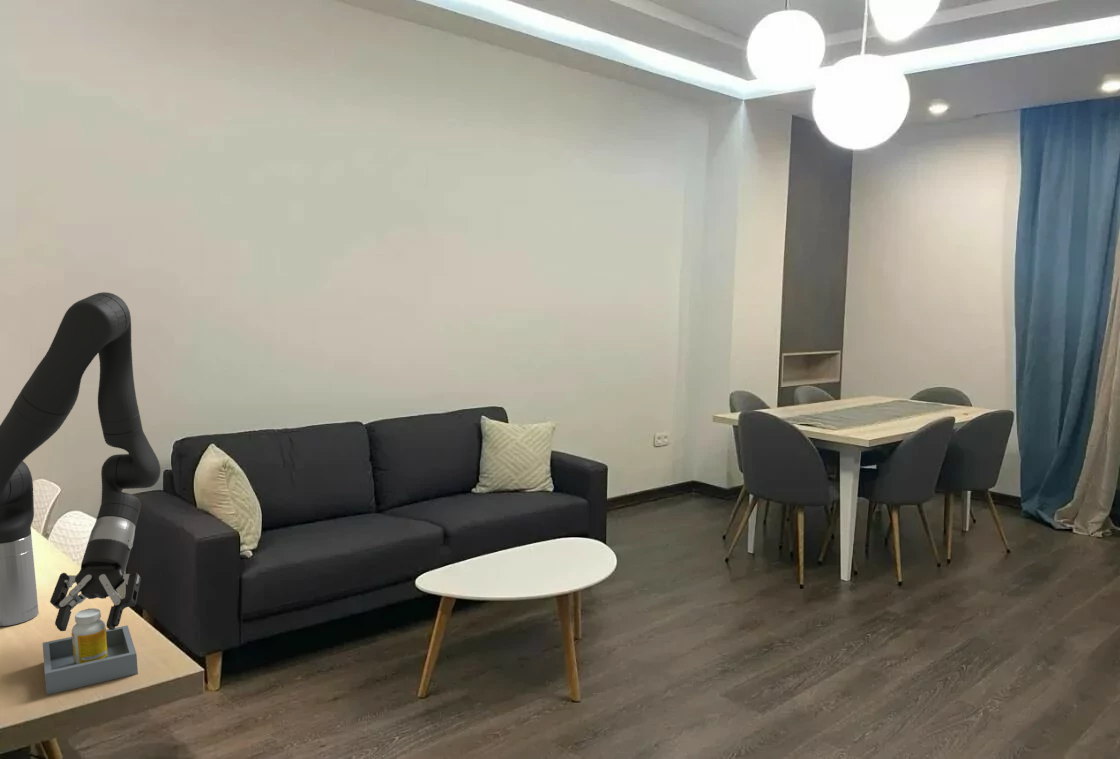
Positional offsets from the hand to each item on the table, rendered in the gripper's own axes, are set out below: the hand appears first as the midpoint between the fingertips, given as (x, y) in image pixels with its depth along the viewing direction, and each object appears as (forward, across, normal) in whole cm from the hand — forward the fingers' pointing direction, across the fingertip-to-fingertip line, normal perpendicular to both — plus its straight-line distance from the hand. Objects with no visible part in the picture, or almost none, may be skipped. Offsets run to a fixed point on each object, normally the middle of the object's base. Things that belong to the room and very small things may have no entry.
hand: (85, 629), depth 154 cm
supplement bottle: (+4, 0, +6) cm, 7 cm away
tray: (+5, 0, +6) cm, 8 cm away
